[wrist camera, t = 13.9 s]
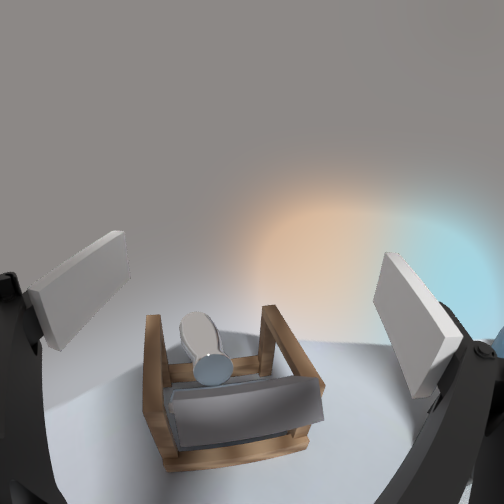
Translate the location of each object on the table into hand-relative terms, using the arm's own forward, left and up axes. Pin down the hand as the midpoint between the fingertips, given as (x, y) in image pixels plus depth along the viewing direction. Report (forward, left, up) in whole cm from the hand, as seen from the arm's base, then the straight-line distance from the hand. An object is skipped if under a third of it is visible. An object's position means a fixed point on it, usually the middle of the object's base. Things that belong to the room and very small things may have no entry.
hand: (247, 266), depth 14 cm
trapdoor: (-1, -7, -22) cm, 24 cm away
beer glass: (0, -17, -25) cm, 30 cm away
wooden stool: (-1, -14, -31) cm, 34 cm away
